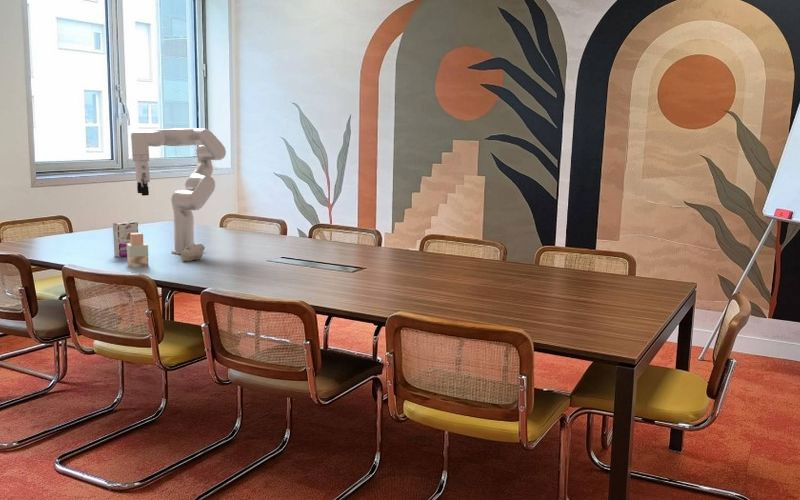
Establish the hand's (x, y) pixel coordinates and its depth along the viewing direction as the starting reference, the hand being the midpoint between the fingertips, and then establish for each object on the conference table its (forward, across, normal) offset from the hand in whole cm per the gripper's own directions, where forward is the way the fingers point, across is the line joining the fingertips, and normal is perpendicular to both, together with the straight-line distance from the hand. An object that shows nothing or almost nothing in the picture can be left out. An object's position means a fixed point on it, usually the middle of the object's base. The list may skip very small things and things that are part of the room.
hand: (143, 194), depth 372 cm
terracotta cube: (+21, -16, +7) cm, 27 cm away
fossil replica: (+32, -12, -19) cm, 39 cm away
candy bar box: (+32, +12, +8) cm, 34 cm away
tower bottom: (+31, -16, +7) cm, 36 cm away
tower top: (+26, -16, +7) cm, 31 cm away
